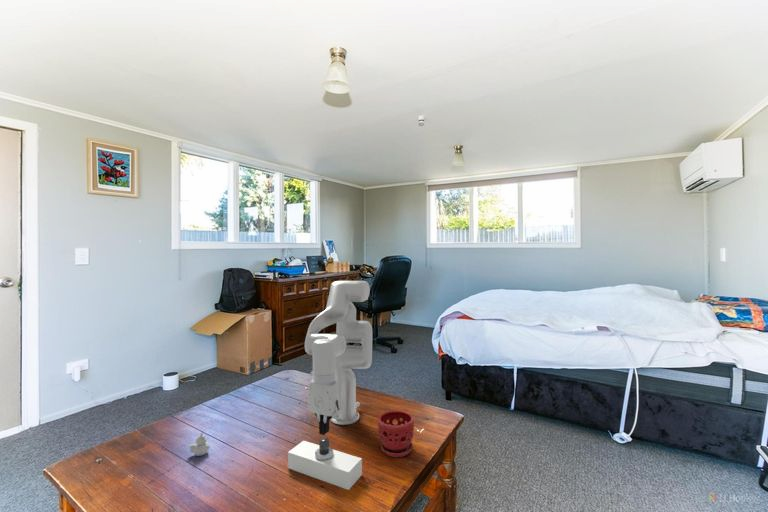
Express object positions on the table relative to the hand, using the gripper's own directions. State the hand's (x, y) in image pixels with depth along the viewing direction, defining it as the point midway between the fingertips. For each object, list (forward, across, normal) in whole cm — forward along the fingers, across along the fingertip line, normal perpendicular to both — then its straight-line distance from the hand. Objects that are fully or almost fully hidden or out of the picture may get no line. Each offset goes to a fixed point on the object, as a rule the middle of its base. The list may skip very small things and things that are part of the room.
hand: (324, 432), depth 114 cm
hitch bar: (+13, 0, 0) cm, 13 cm away
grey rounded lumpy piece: (+13, -46, -12) cm, 49 cm away
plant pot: (+13, +16, +22) cm, 30 cm away
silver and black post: (+12, 0, 0) cm, 13 cm away
